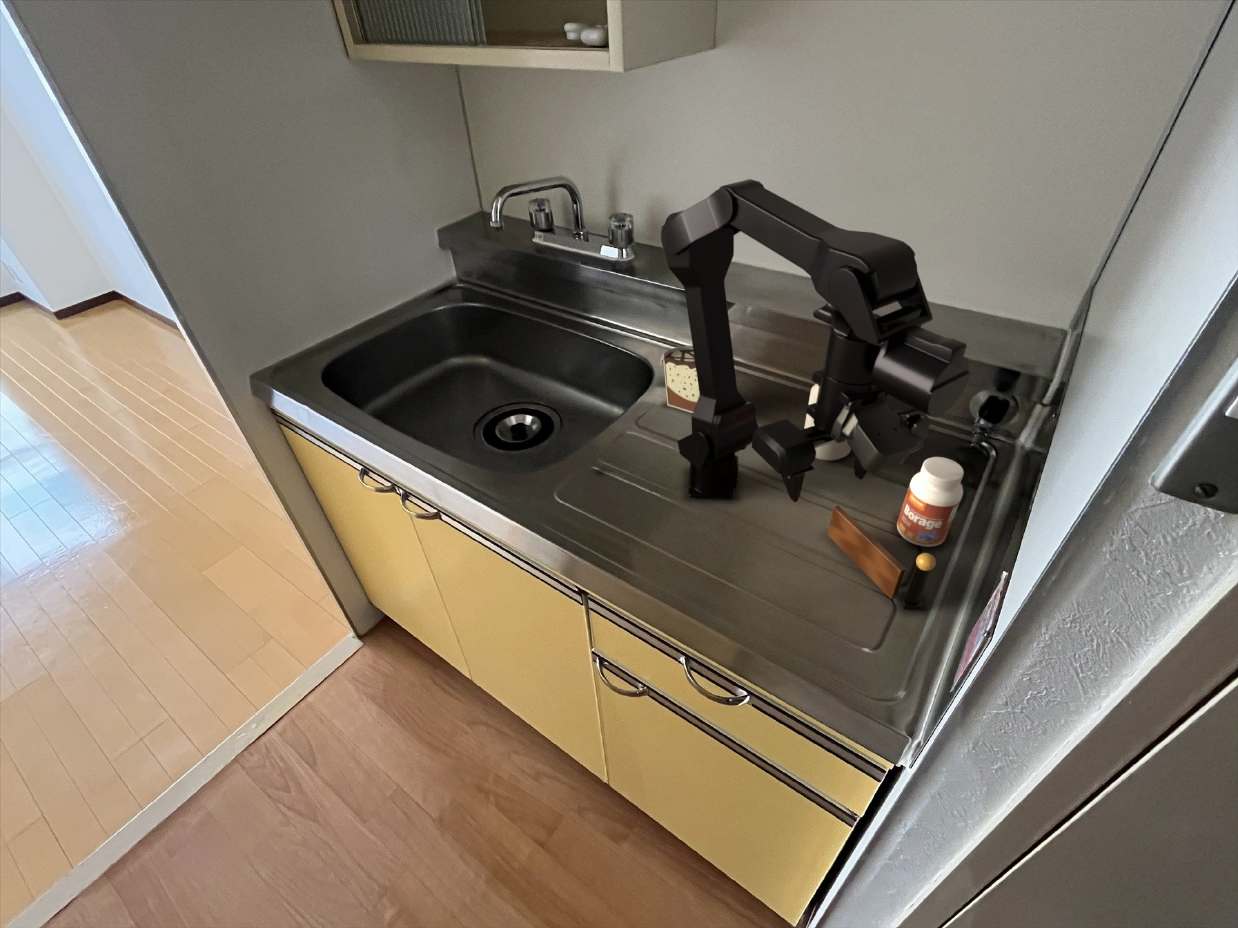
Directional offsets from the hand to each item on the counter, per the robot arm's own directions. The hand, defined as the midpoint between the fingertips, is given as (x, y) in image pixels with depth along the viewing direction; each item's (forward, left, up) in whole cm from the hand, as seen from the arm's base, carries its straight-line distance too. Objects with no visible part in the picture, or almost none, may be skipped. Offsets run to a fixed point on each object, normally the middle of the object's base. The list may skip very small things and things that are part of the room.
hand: (826, 488), depth 74 cm
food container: (-15, +37, -13) cm, 42 cm away
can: (+5, +25, -13) cm, 29 cm away
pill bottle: (+15, +7, -13) cm, 21 cm away
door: (+6, 0, -13) cm, 14 cm away
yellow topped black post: (+11, -5, -13) cm, 18 cm away
